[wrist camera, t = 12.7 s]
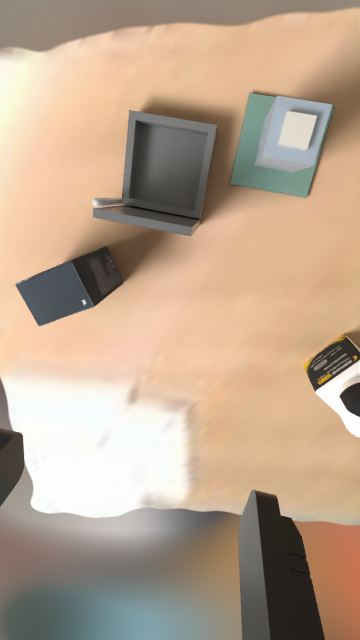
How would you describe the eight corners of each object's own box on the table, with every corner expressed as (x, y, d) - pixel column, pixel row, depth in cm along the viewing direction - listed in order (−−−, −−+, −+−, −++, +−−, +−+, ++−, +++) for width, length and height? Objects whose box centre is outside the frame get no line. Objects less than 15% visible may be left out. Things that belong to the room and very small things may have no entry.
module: (305, 127, 33) (335, 102, 24) (292, 172, 35) (315, 165, 26) (264, 120, 33) (278, 93, 24) (253, 165, 35) (263, 156, 26)
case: (217, 129, 34) (214, 102, 24) (199, 225, 39) (190, 236, 29) (127, 114, 35) (87, 81, 25) (119, 210, 39) (83, 215, 29)
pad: (332, 107, 32) (334, 106, 32) (305, 197, 36) (306, 197, 35) (249, 94, 33) (249, 92, 32) (230, 184, 36) (230, 183, 36)
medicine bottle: (343, 332, 41) (386, 382, 30) (377, 365, 43) (429, 424, 32) (301, 364, 44) (327, 420, 33) (334, 394, 45) (369, 458, 34)
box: (107, 244, 41) (71, 260, 32) (124, 283, 43) (95, 308, 33) (59, 264, 43) (12, 284, 34) (78, 299, 45) (38, 328, 35)
